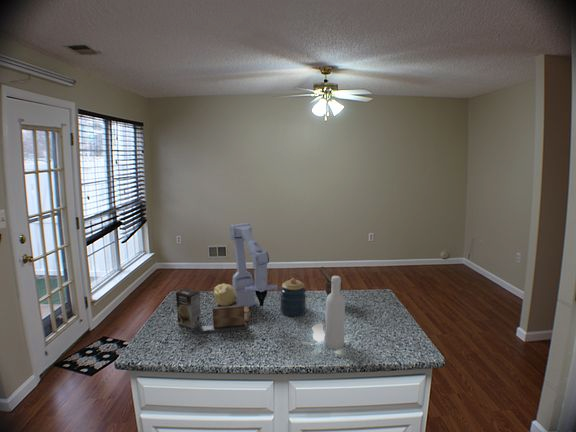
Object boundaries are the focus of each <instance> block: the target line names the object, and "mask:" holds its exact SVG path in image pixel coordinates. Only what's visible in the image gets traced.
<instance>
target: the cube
mask: <svg viewBox="0 0 576 432" xmlns="http://www.w3.org/2000/svg"><path fill="white" fill-rule="evenodd" d="M249 308H250V307H249ZM249 308H248V307H244V322H249V321H250V309H249Z"/></svg>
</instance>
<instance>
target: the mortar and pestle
mask: <svg viewBox="0 0 576 432" xmlns="http://www.w3.org/2000/svg"><path fill="white" fill-rule="evenodd" d="M319 271H320V274H322V276H324V278H325V279H324V280H325V281H324V283H325V293H326V295H327V296H328V295H329V294H330V293H331V285H332V281H331V279H332V277H330V276H329V274H328V272H327V270H326V268H325V267H324V266H321V267H320V268H319ZM342 283H343V282H342V280H341V285H340V293H341V294H342V286H343V285H342Z"/></svg>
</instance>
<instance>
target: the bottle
mask: <svg viewBox="0 0 576 432" xmlns="http://www.w3.org/2000/svg"><path fill="white" fill-rule="evenodd" d="M331 278H332V279H331V281H332V285H331V293H330V294H329V295H327V296H326V300H325V333H324V335H325V337H324V341H325V344H324V345H325V347H327V348H328V349H331V350H341V349H342V348H344V346H345V323H346V322H345V318H346V314H345V313H346V301H345V296H344V295H343V294H342V292H341V293H340V285H341V281H342V279H341V278H342V277H340V276H339V275H332V276H331Z"/></svg>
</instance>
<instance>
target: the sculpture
mask: <svg viewBox="0 0 576 432" xmlns="http://www.w3.org/2000/svg"><path fill="white" fill-rule="evenodd" d="M213 298H214V302H215V303H216V304H217V305H219V306H220V307H225V306H232V305H234V304H235V303H236V291H235V290H234V289H233V285H231V284H228V283H225V282H223V283H220V284H217V285H216V286H214V288H213Z"/></svg>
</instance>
